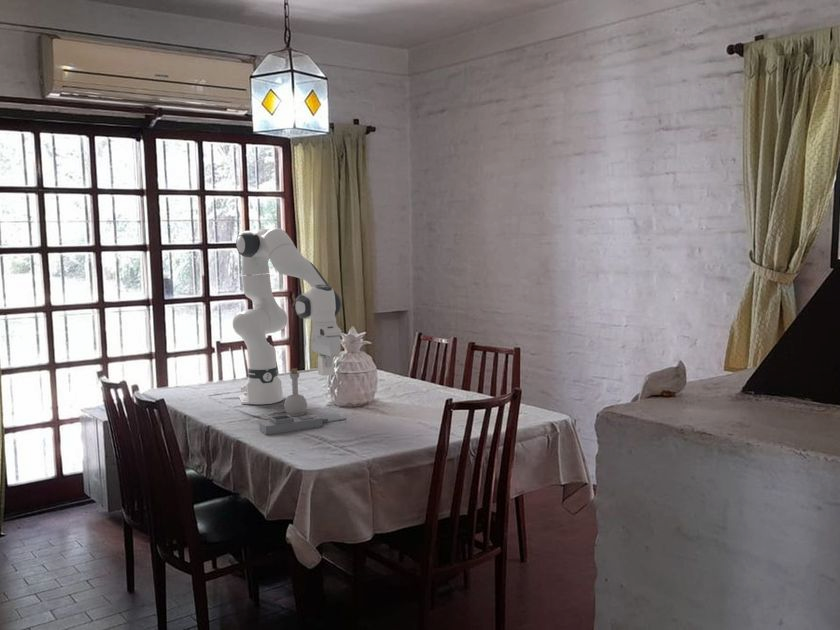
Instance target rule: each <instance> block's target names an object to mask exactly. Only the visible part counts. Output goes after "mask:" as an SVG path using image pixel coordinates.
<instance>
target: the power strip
mask: <svg viewBox="0 0 840 630" xmlns="http://www.w3.org/2000/svg"><path fill="white" fill-rule="evenodd" d="M327 421H328V419H327V418H326V419H322V418H321V417H319V415H317V414H310V415H300V416H289V415H287V414H281V415H273V416H269V419H268V420H266V421H260V422H259V432H261V433H262V434H264V435H265V436H267V435H275V434H280V433H287V432H294V431H301V430H307V429H314V428H313V427H315V428H319V427H320V426H322V427H323V426H324V425H323V424H324V423H322V422H327ZM327 423H328V422H327Z"/></svg>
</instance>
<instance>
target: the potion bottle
mask: <svg viewBox="0 0 840 630" xmlns="http://www.w3.org/2000/svg"><path fill="white" fill-rule="evenodd" d="M289 377H290V379H291V386H292V387H291V389H292V394H291V395H287V396H286V399H284V400H285V401H284V405H283V406H284V411H285V413H287V414H286V415H289V416H291V417H301V416H304V415H306V411H307V407H308V402H307V400H306V398H305V397H304V395H302V394H299V383H298V382H299V381H298V379H299V377H300V373H299V372H298V368H291V369H290V373H289ZM303 414H304V415H303Z"/></svg>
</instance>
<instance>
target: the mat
mask: <svg viewBox="0 0 840 630" xmlns="http://www.w3.org/2000/svg"><path fill="white" fill-rule="evenodd" d="M318 416H319V417H321V418H322V419H326V418H327V419H328V421H327V423H332V422H333V421H334V422H340V421H339V420H341V421H345V420H347V418H346V417H345V416H342V415H340V414H338V413H336V412H334V413H326V414H321V415H319V414H318ZM334 422H333V423H334ZM322 423H323V424H327V423H326V422H322Z"/></svg>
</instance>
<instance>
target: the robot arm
mask: <svg viewBox="0 0 840 630" xmlns="http://www.w3.org/2000/svg"><path fill="white" fill-rule="evenodd" d="M235 246H236V247H235V248H236V250H237V252H238V254H240V256H242V259H241V275H242V285H243V294H244V295H245V297H246V298H248V299H250V300H251V302H252V303H253V305H254V308H250V309H245V310H242V311H239V312H238V313H236V314H235V315H234V317H233V319H232V328H233V330H234V332H235V333H236V334H237V335H238V336H240V338H241V339H242V340H243V341H244V344H245V346H246V350H247V354H248V369H247V379H246V381H245V383H244V385H241V387H240V390H241V393H242V394H240V395H239V396H238V398H240V399H239V401H240V400H241V401H240V403H241V404H242V405H270V404H271V405H272V404H276V403H279V402H281V401H283V400H286V398H287V396H286V395H284V394H283V385H282V384H283V383H282V379H280V378H279V377H278V374H279V370H278V366H277V353H276V348H275V347H274V346H273V345H272V344H270V343H269V342H268V341H267V337H266V335H267V334H274V333H277V332H279V331H282V330H283V329H285V328H286V326H287V324H288V314H287V313H286V311H285V310H284V309H283V308H282V307H280V305H279V304H278V302H277V301H276V298H275V297H274V294H273V291H272V283H271V273H270V268H269V266H270V265H269V260H270V262H271V264H272V267H273V268H274V269H275V270H276V271H277V272H279V274H281V275H284V276H289V277H293V278H297V279H301V280H304V281H305V282H307V284H309V286H310V287H311V289H310V290H308V291H307V292H304V293H302V294H298V296H297V297H296V299H295V302H294V311H295V313H296V315H297V316H298V317H299V318H300V319H303V320H308V319H309V320H311V325H312V326H311V327H312V330H311V331H312V333H311V337H310V338H311V339H310V349H311V351H312V352H314V353H317V356H318V357H319V355H326V358H327V362H326V367H328V368H329V367H332V360H333V357H334V358H336V357H340V355H341V349H342V347H341V343H342V342H341V341H342V340H341V337H340V336H342V329H340V327H339V326H338V324H337V318H336V317H337V315H338V314H339V313H340V311H341V309H342V306H343V304H342V300H341V298H340V296H339V294H338V292H336V291H335V290H334V288H333V286H330V285H329V283H328V282H327V281H326V279H325V278H324V277H323V276H322V274H321V273H320V271H319V270H318V268H317V267H316V266H315V265H314V264H313V263H312V262H311V261H310V260H309V259H307V258H305V256H303V254H301V252H300V251H299V250H298V249H297V248H296V245H295V244H294V241H293V240H292V239H291V237H290V236H289V234H288V233H287V232H286V230H284V229H282V228H280V227H276V228H275V227H274V228H271V229H270V228H262V229H261V228H260V229H255V230H245V231H242V232H240V233H239V234H238V235H237V237H236V239H235ZM318 357H317V358H318Z"/></svg>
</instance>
